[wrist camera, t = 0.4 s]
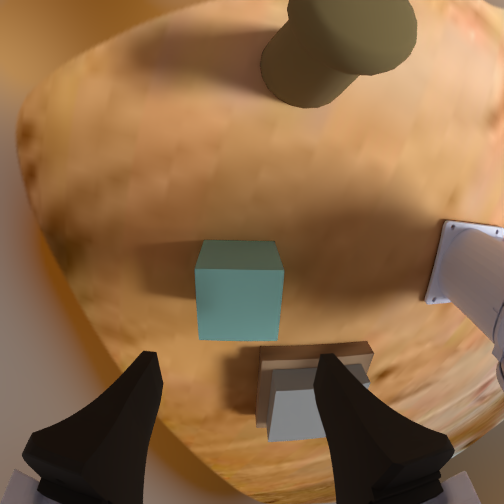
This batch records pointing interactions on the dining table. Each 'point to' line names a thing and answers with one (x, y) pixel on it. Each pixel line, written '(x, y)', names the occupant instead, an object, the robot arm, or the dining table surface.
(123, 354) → the dining table surface
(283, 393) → the grey block
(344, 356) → the walnut block
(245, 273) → the teal cube
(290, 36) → the olive upright rounded piece
